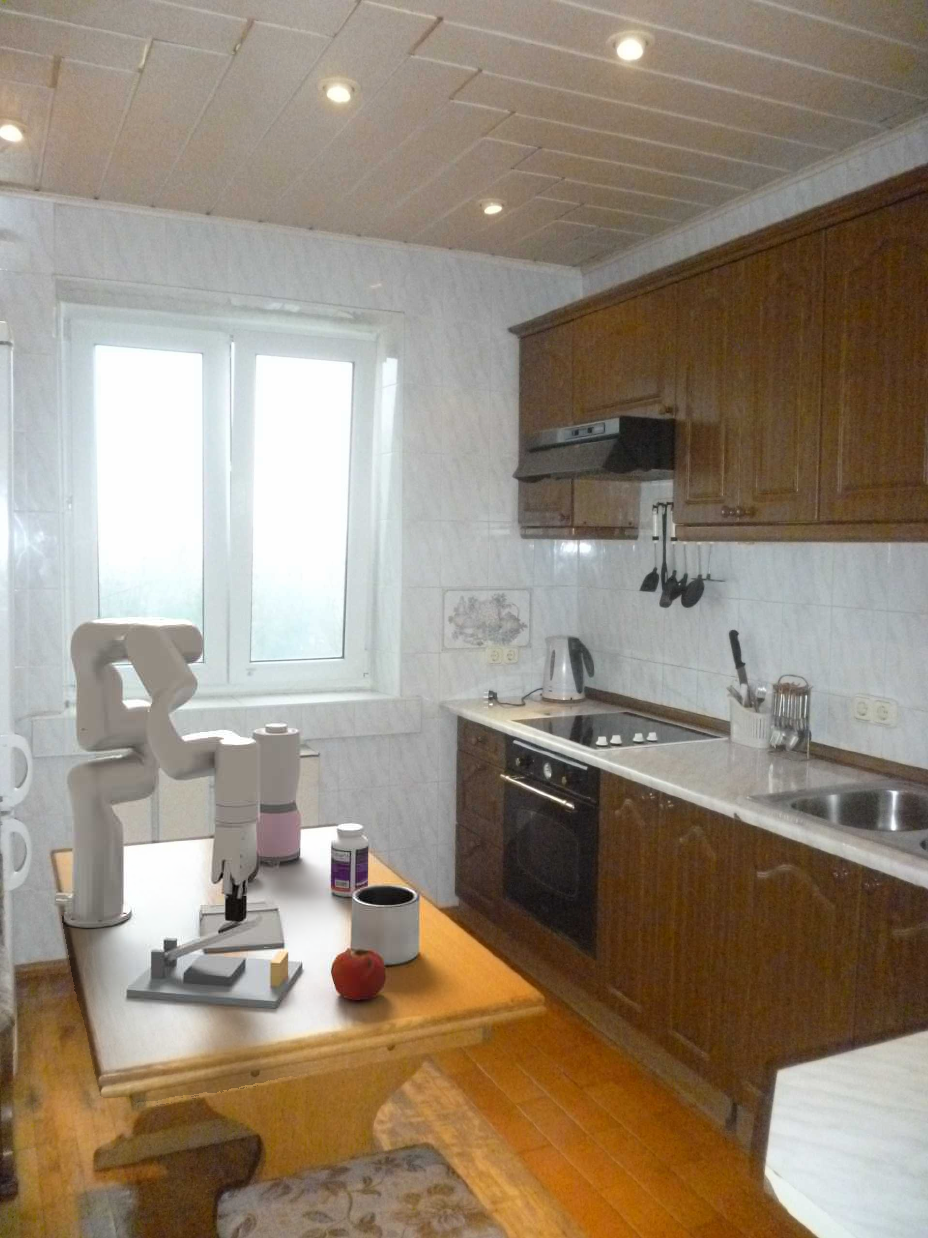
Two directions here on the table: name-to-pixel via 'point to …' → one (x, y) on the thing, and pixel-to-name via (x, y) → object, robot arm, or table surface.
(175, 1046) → the table surface
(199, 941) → the clamp bar
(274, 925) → the gadget
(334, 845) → the pill bottle
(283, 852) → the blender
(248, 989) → the clamp base
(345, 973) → the tomato
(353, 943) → the planter
